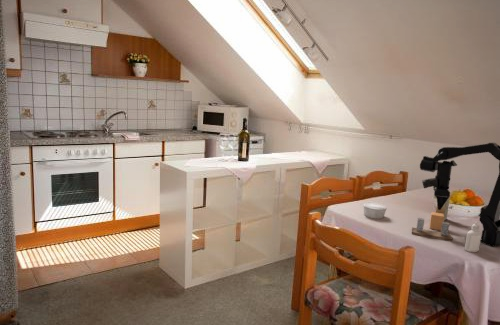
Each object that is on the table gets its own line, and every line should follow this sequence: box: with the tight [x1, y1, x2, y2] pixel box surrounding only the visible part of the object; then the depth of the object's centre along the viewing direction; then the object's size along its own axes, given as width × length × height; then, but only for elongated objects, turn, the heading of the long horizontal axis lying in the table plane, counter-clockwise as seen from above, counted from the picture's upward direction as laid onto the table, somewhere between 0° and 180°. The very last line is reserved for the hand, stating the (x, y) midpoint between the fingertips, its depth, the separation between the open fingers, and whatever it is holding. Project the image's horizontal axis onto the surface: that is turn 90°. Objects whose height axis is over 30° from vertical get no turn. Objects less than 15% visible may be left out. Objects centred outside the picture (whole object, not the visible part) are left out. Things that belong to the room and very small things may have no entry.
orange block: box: [429, 211, 444, 231], centre depth 190 cm, size 5×5×7 cm
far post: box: [415, 217, 425, 232], centre depth 180 cm, size 3×3×6 cm
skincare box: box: [435, 196, 451, 222], centre depth 203 cm, size 6×4×12 cm
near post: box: [440, 221, 450, 237], centre depth 177 cm, size 3×3×6 cm
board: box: [411, 227, 453, 242], centre depth 179 cm, size 16×7×1 cm, turn 67°
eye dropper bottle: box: [464, 221, 482, 253], centre depth 163 cm, size 4×6×12 cm
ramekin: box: [363, 202, 387, 220], centre depth 203 cm, size 11×11×5 cm
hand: (438, 207), depth 188 cm, fingers open, 9 cm apart
